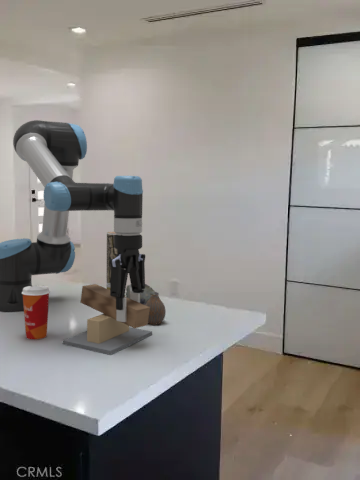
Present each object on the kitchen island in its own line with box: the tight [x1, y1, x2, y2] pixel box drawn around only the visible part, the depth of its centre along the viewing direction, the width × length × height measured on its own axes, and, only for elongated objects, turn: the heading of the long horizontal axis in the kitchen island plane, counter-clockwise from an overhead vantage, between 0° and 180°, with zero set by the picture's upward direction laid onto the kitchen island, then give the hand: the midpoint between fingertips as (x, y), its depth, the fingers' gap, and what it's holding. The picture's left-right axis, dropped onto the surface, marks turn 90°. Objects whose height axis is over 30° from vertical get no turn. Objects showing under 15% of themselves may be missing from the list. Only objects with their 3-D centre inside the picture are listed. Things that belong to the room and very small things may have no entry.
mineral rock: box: [125, 283, 160, 305], centre depth 171 cm, size 13×11×10 cm
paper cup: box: [22, 284, 51, 341], centre depth 137 cm, size 8×8×14 cm
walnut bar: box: [80, 283, 150, 329], centre depth 136 cm, size 22×5×5 cm, turn 51°
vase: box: [145, 295, 166, 325], centre depth 153 cm, size 7×7×9 cm
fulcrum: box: [62, 313, 153, 356], centre depth 136 cm, size 16×20×7 cm
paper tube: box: [106, 231, 122, 290], centre depth 188 cm, size 7×7×25 cm
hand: (128, 318), depth 133 cm, fingers closed on walnut bar, 6 cm apart
